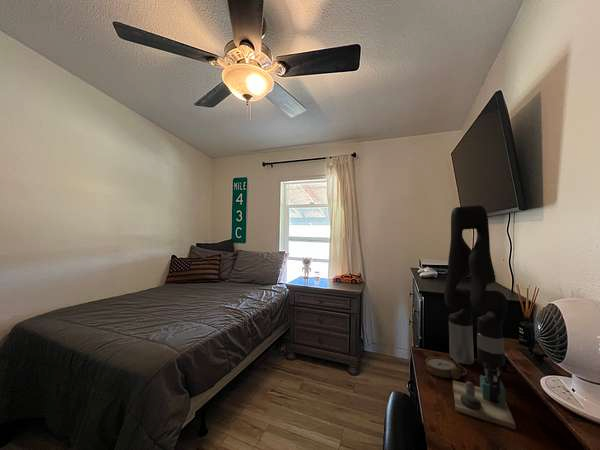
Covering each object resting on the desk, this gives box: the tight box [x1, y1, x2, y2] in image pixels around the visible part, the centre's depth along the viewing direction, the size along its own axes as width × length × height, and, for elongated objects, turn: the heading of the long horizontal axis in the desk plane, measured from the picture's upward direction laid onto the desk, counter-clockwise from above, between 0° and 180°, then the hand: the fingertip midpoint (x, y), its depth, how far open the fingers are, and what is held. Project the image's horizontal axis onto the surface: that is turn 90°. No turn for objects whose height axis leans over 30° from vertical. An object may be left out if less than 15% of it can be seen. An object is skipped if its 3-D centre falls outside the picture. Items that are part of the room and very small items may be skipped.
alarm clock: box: [424, 356, 468, 381], centre depth 99 cm, size 11×5×15 cm
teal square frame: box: [479, 374, 507, 405], centre depth 82 cm, size 6×6×5 cm
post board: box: [452, 379, 517, 430], centre depth 81 cm, size 16×15×8 cm
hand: (492, 396), depth 82 cm, fingers closed on teal square frame, 6 cm apart
